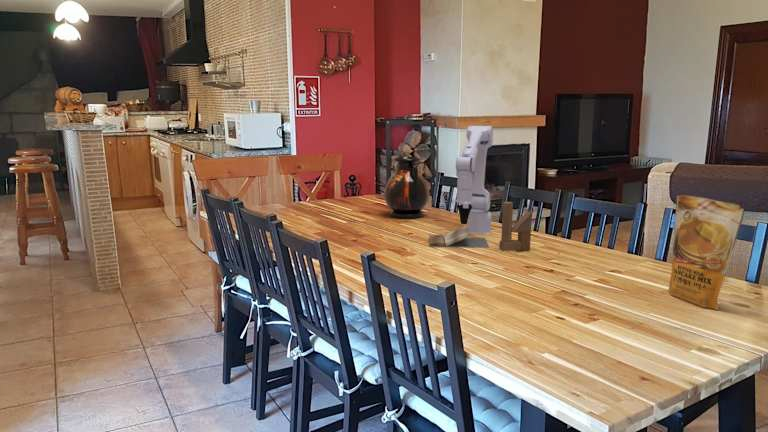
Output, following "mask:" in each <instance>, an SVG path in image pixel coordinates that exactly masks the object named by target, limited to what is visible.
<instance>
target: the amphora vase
mask: <svg viewBox="0 0 768 432" xmlns="http://www.w3.org/2000/svg"><path fill="white" fill-rule="evenodd" d="M393 161H394V162H396V163H397V164H396V170H395V172H394V173H393V174H392V175H391V176H390V177H389V179H388V180H387V183H386V185H385V188H384V201H385V202H386V204H387V205H386V206H388V207H389V208H390V209H391V210H390V211H389V215H390V216H391V217H392V218H397V219H417V218H421V217H423V215H425V212H424V211H423V209H424V208H425V207H426V206H427V204H429V200H430V190H429V189H430V188H429V185H428V183H427V181H426V179H425V178H424V176H423V175H422V174H421V172H419V169H418V166H417V163H418V162H420V161H421V158H420V157H419V156H396V157H394V158H393Z"/></svg>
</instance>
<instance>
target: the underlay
mask: <svg viewBox="0 0 768 432" xmlns="http://www.w3.org/2000/svg"><path fill="white" fill-rule="evenodd" d="M429 247H430V248H466V249H467V248H473V249H474V248H475V249H477V248H478V249H480V248H482V249H487V248H488V249H490V245H489V243H488V241H487V240H486V238H485V237H467V238H464V239H462V240H460V241H457V242H455V243H453V244H450V245H448V246H430V245H429Z"/></svg>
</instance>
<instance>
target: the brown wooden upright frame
mask: <svg viewBox="0 0 768 432" xmlns="http://www.w3.org/2000/svg"><path fill="white" fill-rule="evenodd" d="M513 207H514V203H513V202H512V201H502V215H501V216H502V219H501V240H499V245H498V246H499V247H498V248H499V250H501V251H502V252H507V251H516V252H525V251H526V252H527V251H528V252H529V251H531V237H532V233H531V232H532V219H533V217H532V216H533V213H532V212H531V211H526V212H525V213H523V214H522V216H521V217H520V218H519V219H518V220H517V221H516V223H514V224H513V215H514V214H513V210H514V208H513ZM512 233H517V239H512Z"/></svg>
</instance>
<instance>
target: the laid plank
mask: <svg viewBox="0 0 768 432" xmlns="http://www.w3.org/2000/svg"><path fill="white" fill-rule="evenodd" d="M428 239H429V240H428V241H429V247H430V246H446V244H445V239H444V235H443V234H429V236H428Z"/></svg>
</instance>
